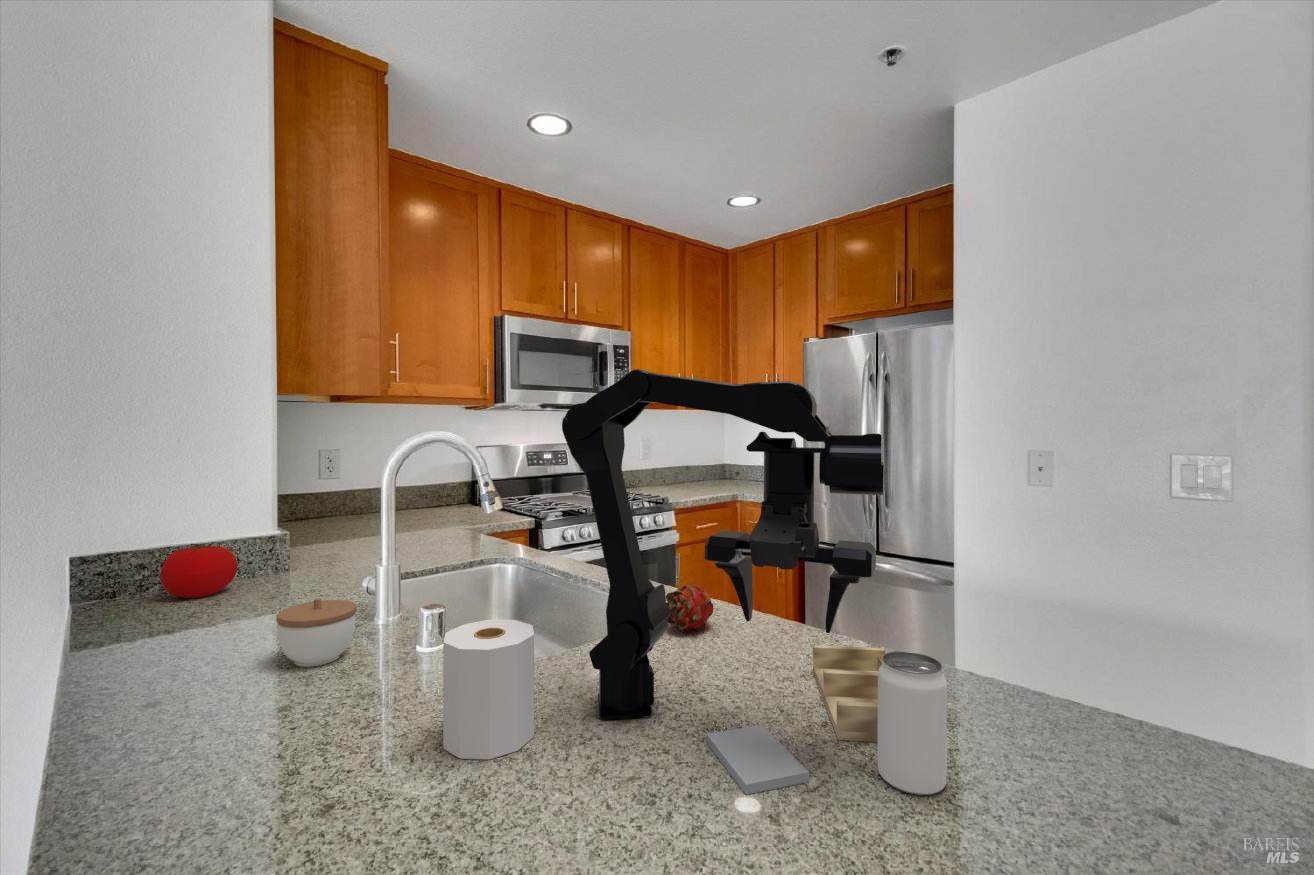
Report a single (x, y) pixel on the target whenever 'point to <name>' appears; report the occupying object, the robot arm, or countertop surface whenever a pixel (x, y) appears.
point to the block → (756, 759)
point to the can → (912, 723)
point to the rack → (849, 689)
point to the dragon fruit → (689, 608)
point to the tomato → (198, 571)
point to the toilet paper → (488, 688)
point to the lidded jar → (316, 631)
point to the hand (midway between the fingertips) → (787, 626)
